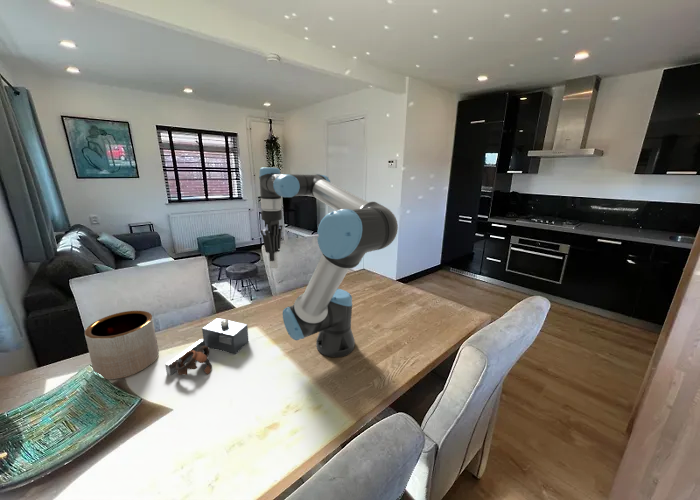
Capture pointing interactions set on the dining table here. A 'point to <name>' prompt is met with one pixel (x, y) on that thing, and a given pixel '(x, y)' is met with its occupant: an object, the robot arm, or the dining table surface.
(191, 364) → the brown curved piece
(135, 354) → the planter
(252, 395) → the dining table surface
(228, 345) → the motor bracket
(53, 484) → the dining table surface
